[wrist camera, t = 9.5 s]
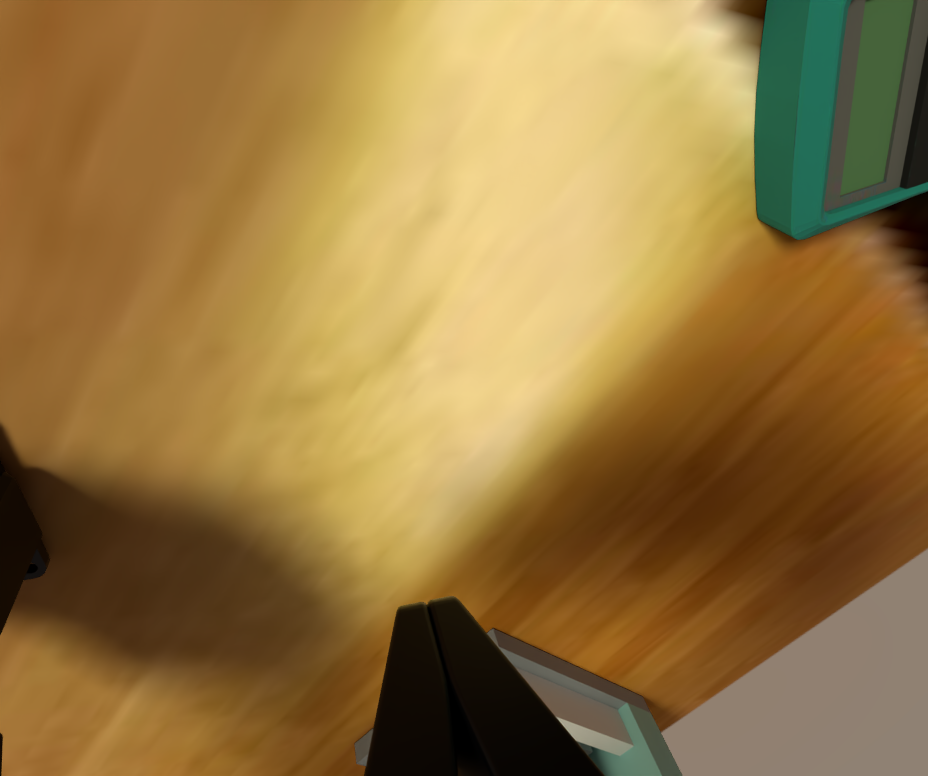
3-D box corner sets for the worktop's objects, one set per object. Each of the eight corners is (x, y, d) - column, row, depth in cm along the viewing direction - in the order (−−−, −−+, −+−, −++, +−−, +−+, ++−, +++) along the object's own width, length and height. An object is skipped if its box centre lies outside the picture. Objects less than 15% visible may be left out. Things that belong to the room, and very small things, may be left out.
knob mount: (354, 743, 32) (368, 881, 27) (492, 628, 30) (535, 757, 25) (520, 786, 39) (554, 902, 34) (642, 696, 37) (698, 807, 32)
